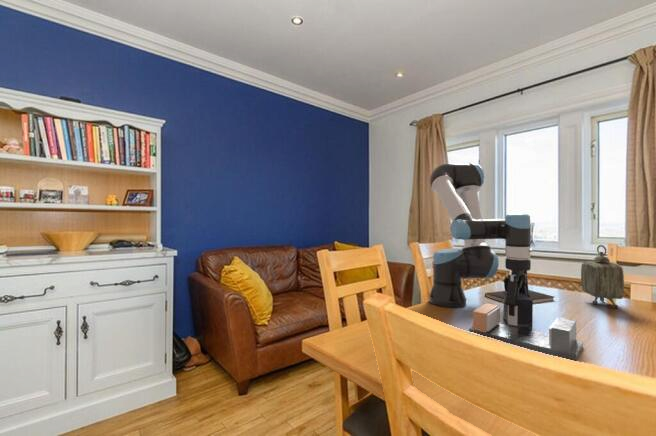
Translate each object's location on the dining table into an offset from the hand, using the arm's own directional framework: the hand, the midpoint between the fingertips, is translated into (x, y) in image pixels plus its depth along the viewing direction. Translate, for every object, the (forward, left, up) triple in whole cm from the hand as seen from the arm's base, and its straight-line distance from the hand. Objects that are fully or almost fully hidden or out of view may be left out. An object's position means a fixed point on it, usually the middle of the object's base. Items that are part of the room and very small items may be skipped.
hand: (517, 320), depth 110 cm
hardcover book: (-9, +38, -3) cm, 39 cm away
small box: (0, 0, -2) cm, 2 cm away
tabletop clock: (+18, +50, -2) cm, 53 cm away
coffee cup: (-6, +20, -2) cm, 21 cm away
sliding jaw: (-6, -13, 0) cm, 14 cm away
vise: (+5, -13, -2) cm, 14 cm away
